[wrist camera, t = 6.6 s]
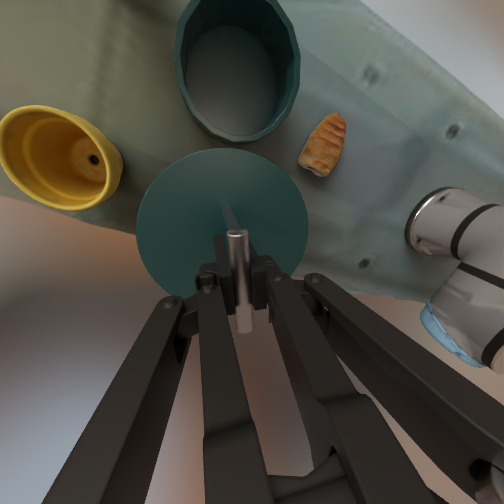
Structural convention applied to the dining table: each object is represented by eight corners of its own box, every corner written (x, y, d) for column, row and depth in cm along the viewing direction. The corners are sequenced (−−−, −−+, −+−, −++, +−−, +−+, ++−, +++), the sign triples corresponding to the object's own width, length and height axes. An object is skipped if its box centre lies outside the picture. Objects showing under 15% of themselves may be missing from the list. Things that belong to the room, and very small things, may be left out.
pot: (280, 23, 29) (303, -17, 22) (279, 141, 35) (297, 139, 28) (171, 18, 26) (160, -28, 20) (191, 146, 33) (187, 144, 26)
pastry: (318, 106, 34) (331, 101, 30) (349, 125, 36) (364, 123, 33) (293, 164, 37) (302, 165, 34) (323, 179, 39) (334, 181, 36)
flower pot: (48, 177, 31) (-13, 186, 22) (62, 102, 27) (-3, 79, 19) (125, 206, 34) (99, 225, 26) (145, 144, 31) (122, 140, 23)
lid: (308, 144, 18) (388, 137, 10) (298, 290, 25) (342, 353, 17) (114, 152, 15) (23, 152, 8) (162, 313, 22) (139, 400, 14)
